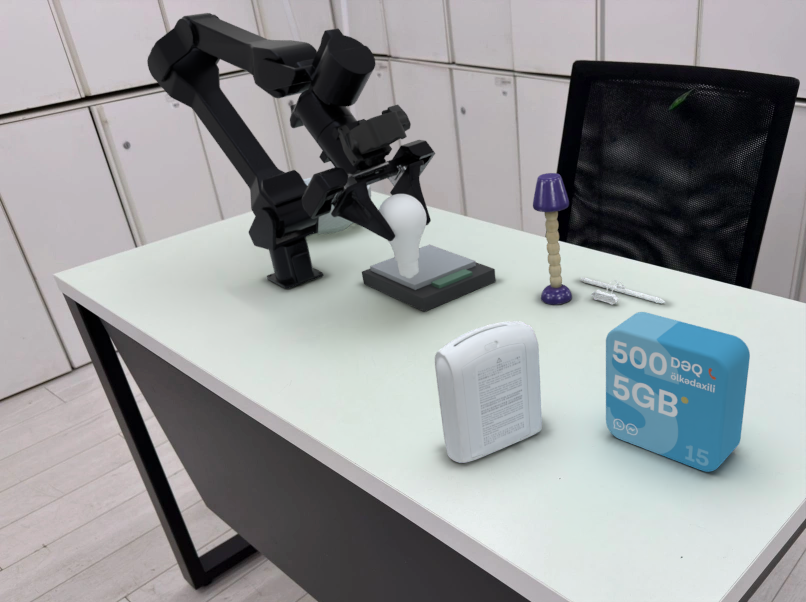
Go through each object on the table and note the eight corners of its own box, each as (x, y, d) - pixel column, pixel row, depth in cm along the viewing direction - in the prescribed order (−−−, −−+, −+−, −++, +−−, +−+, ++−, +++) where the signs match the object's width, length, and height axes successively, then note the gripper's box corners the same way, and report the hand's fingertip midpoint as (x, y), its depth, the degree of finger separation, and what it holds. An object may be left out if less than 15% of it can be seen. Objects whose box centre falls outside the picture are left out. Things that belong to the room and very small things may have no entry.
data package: (604, 434, 73) (604, 325, 67) (629, 413, 76) (631, 307, 70) (717, 478, 66) (729, 361, 60) (739, 453, 69) (752, 339, 63)
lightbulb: (411, 291, 94) (400, 205, 88) (376, 281, 97) (363, 198, 91) (442, 273, 98) (433, 191, 92) (408, 265, 101) (397, 184, 95)
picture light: (666, 303, 98) (667, 288, 97) (648, 315, 95) (648, 300, 94) (581, 280, 106) (581, 266, 105) (562, 290, 103) (561, 276, 102)
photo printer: (525, 413, 78) (518, 305, 71) (549, 431, 74) (544, 320, 68) (438, 449, 73) (422, 338, 67) (460, 471, 70) (446, 355, 63)
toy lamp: (532, 301, 101) (524, 179, 92) (546, 288, 104) (540, 169, 96) (564, 306, 99) (560, 182, 90) (578, 293, 102) (575, 171, 94)
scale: (363, 284, 110) (360, 266, 109) (432, 257, 117) (430, 240, 116) (424, 312, 100) (421, 293, 99) (496, 281, 108) (494, 263, 106)
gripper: (296, 101, 81) (382, 216, 81) (415, 73, 93) (490, 172, 93) (268, 165, 89) (346, 269, 89) (381, 131, 102) (449, 222, 101)
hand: (411, 231), depth 93 cm, fingers closed on lightbulb, 6 cm apart
